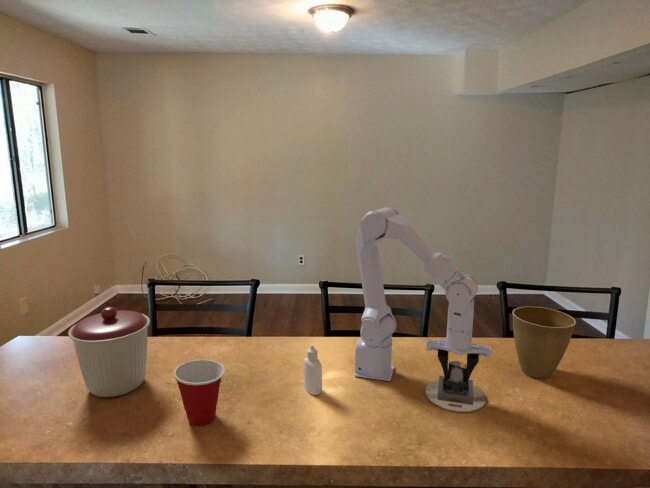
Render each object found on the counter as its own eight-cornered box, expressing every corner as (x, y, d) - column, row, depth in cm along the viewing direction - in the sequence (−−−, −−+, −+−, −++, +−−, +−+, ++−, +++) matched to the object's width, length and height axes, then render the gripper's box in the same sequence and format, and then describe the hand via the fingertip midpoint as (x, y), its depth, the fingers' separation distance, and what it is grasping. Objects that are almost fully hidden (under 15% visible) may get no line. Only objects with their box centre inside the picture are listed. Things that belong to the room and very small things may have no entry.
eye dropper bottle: (320, 383, 115) (320, 339, 112) (322, 395, 109) (322, 350, 107) (303, 384, 114) (302, 340, 112) (304, 396, 109) (303, 350, 106)
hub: (423, 406, 104) (424, 396, 104) (427, 377, 118) (427, 368, 117) (487, 416, 101) (488, 406, 100) (484, 385, 114) (484, 375, 113)
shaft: (446, 382, 111) (447, 359, 110) (463, 384, 110) (464, 360, 109) (447, 391, 107) (449, 367, 106) (465, 392, 107) (467, 368, 105)
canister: (168, 385, 114) (161, 306, 109) (93, 416, 101) (82, 328, 97) (136, 362, 126) (129, 290, 122) (65, 387, 113) (54, 308, 109)
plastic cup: (225, 431, 96) (222, 380, 93) (173, 435, 94) (168, 383, 92) (229, 402, 106) (226, 356, 104) (182, 406, 105) (178, 359, 102)
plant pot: (554, 393, 110) (561, 332, 107) (496, 370, 121) (501, 314, 117) (577, 373, 120) (585, 316, 116) (522, 354, 131) (528, 301, 127)
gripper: (426, 330, 103) (424, 384, 106) (493, 338, 100) (489, 393, 102) (428, 319, 110) (426, 370, 113) (491, 325, 106) (487, 378, 109)
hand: (456, 380), depth 108 cm, fingers closed on shaft, 4 cm apart
